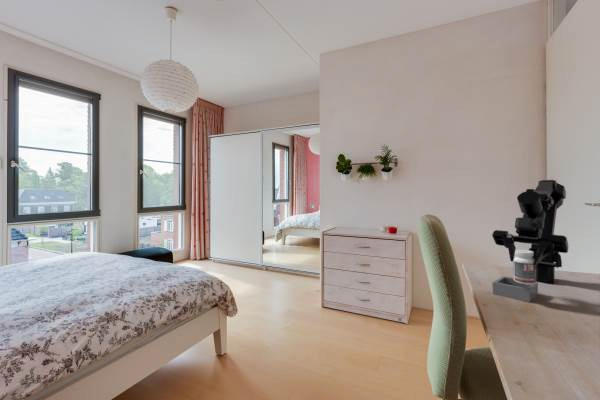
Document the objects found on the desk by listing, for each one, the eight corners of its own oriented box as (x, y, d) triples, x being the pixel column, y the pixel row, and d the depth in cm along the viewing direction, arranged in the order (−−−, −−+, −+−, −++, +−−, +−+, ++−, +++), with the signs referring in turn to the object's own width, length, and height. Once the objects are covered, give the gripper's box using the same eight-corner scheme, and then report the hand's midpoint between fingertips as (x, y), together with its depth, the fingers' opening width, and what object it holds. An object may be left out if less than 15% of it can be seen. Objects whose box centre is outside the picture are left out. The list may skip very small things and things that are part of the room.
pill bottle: (540, 285, 86) (540, 253, 85) (519, 285, 87) (519, 253, 86) (529, 279, 91) (528, 249, 91) (509, 278, 92) (509, 249, 92)
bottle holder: (502, 286, 102) (502, 276, 102) (537, 294, 94) (537, 282, 94) (492, 293, 96) (492, 282, 96) (529, 302, 88) (529, 289, 88)
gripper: (493, 207, 98) (482, 243, 91) (566, 209, 83) (559, 252, 77) (501, 226, 103) (491, 262, 97) (571, 231, 88) (564, 274, 82)
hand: (522, 262), depth 88 cm, fingers closed on pill bottle, 6 cm apart
